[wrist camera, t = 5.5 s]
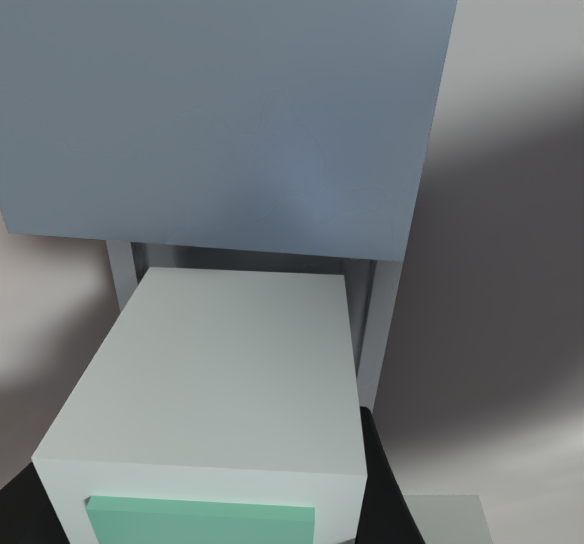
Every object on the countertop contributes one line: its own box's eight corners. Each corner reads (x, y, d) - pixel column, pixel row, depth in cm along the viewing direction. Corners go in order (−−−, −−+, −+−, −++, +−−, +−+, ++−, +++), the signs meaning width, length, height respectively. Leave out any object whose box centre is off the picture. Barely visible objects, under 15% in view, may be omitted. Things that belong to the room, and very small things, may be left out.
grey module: (343, 275, 10) (368, 489, 6) (326, 443, 13) (333, 666, 9) (141, 266, 10) (6, 471, 6) (172, 435, 13) (101, 652, 9)
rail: (454, -93, 8) (652, -246, 3) (341, 516, 18) (346, 698, 14) (78, -108, 8) (-285, -273, 3) (178, 500, 19) (126, 674, 14)
